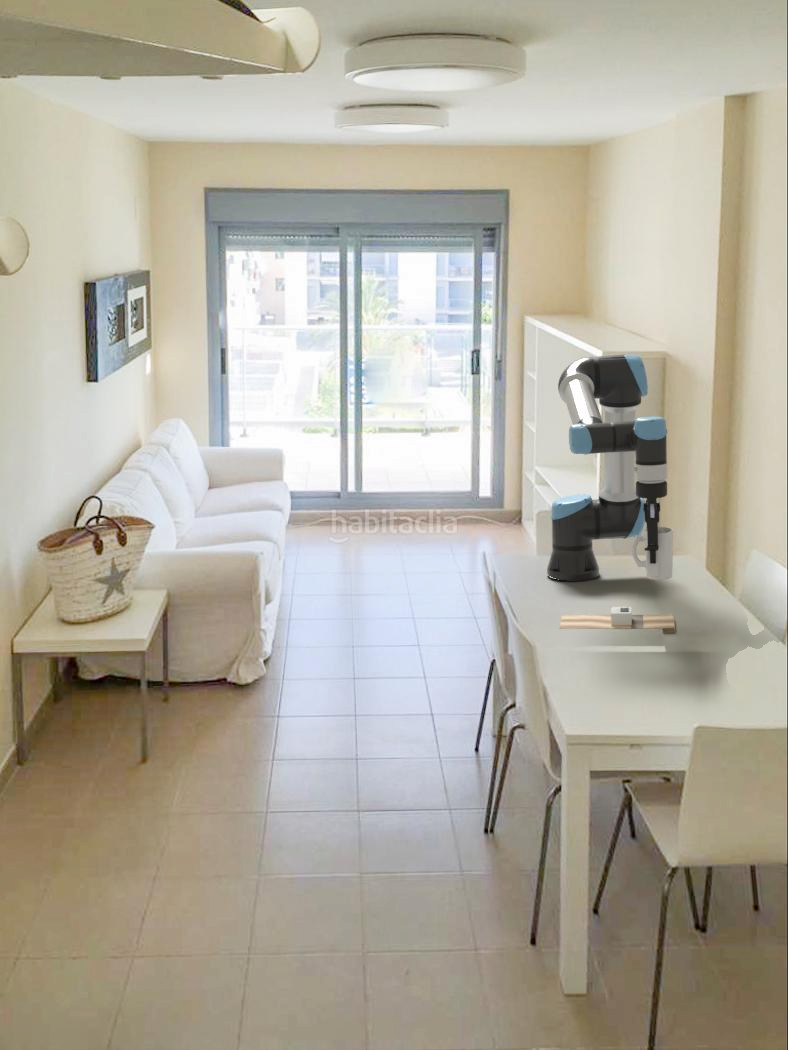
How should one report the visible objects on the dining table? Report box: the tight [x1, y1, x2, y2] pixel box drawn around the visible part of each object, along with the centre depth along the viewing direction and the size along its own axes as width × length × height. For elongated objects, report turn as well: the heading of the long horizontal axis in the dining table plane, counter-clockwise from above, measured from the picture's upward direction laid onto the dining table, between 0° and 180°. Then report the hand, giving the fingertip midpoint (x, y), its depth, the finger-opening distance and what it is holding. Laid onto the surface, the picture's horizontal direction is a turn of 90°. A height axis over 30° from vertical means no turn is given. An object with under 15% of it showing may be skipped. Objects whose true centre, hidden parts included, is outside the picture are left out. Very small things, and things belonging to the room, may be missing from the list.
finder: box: [610, 606, 633, 625], centre depth 314 cm, size 6×5×3 cm
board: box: [559, 614, 676, 634], centre depth 314 cm, size 12×28×1 cm, turn 80°
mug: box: [631, 526, 674, 581], centre depth 309 cm, size 10×7×12 cm, turn 84°
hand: (652, 571), depth 310 cm, fingers closed on mug, 7 cm apart
